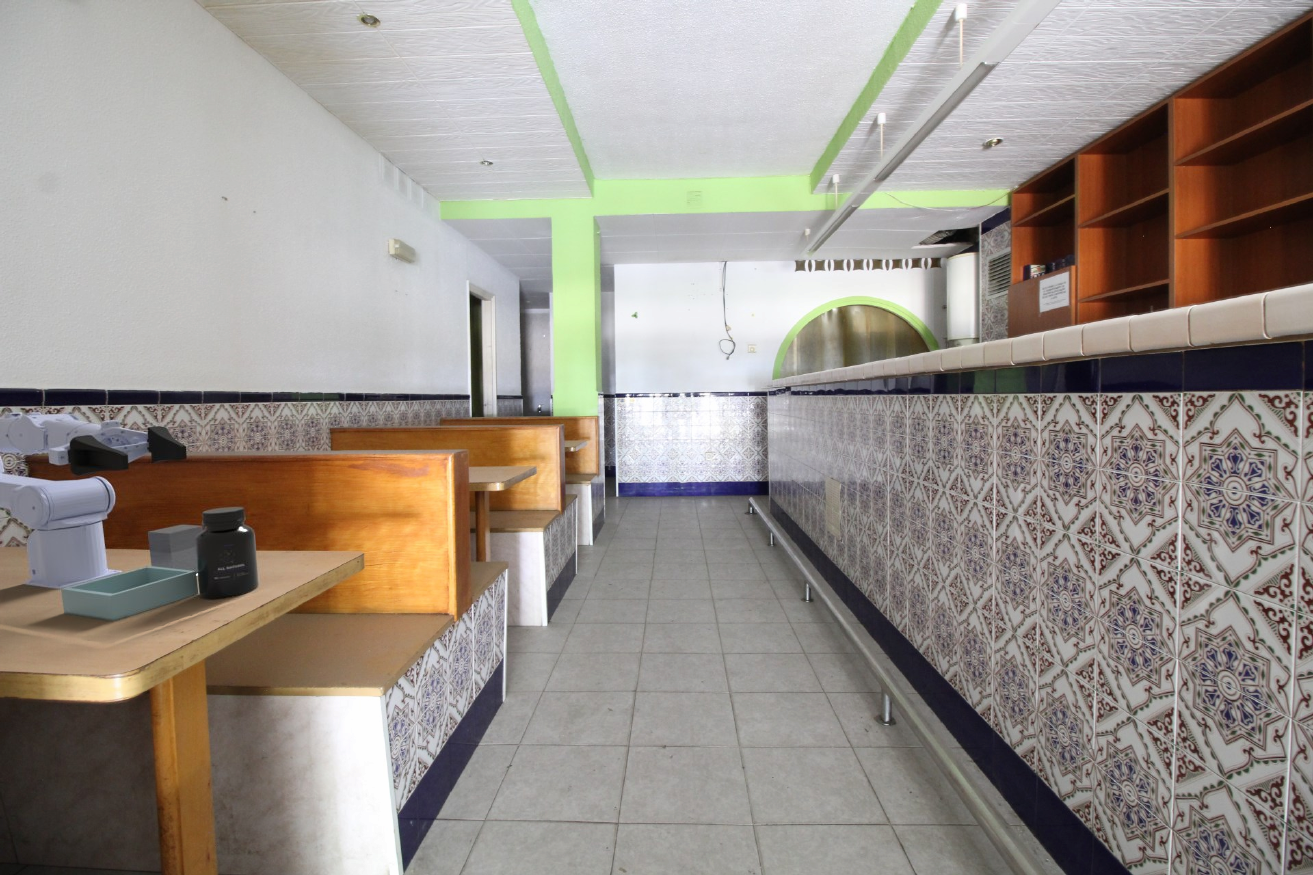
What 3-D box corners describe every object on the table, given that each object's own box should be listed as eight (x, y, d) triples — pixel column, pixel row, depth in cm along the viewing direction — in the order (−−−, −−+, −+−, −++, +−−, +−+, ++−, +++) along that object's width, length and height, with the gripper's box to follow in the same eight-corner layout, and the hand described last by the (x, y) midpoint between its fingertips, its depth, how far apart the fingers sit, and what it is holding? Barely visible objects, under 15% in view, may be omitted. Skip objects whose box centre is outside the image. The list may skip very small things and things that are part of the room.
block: (152, 577, 91) (147, 531, 90) (186, 568, 96) (181, 524, 95) (173, 580, 90) (168, 533, 89) (207, 570, 94) (202, 525, 93)
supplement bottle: (229, 603, 80) (220, 515, 79) (187, 601, 81) (178, 515, 80) (271, 586, 87) (263, 505, 86) (232, 584, 88) (224, 504, 87)
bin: (64, 615, 77) (61, 589, 77) (151, 590, 87) (148, 565, 86) (113, 623, 74) (110, 595, 74) (198, 596, 83) (196, 571, 83)
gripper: (24, 422, 81) (94, 437, 77) (142, 410, 95) (206, 423, 91) (28, 472, 82) (97, 489, 79) (144, 453, 96) (207, 468, 92)
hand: (156, 457), depth 85 cm, fingers open, 7 cm apart
